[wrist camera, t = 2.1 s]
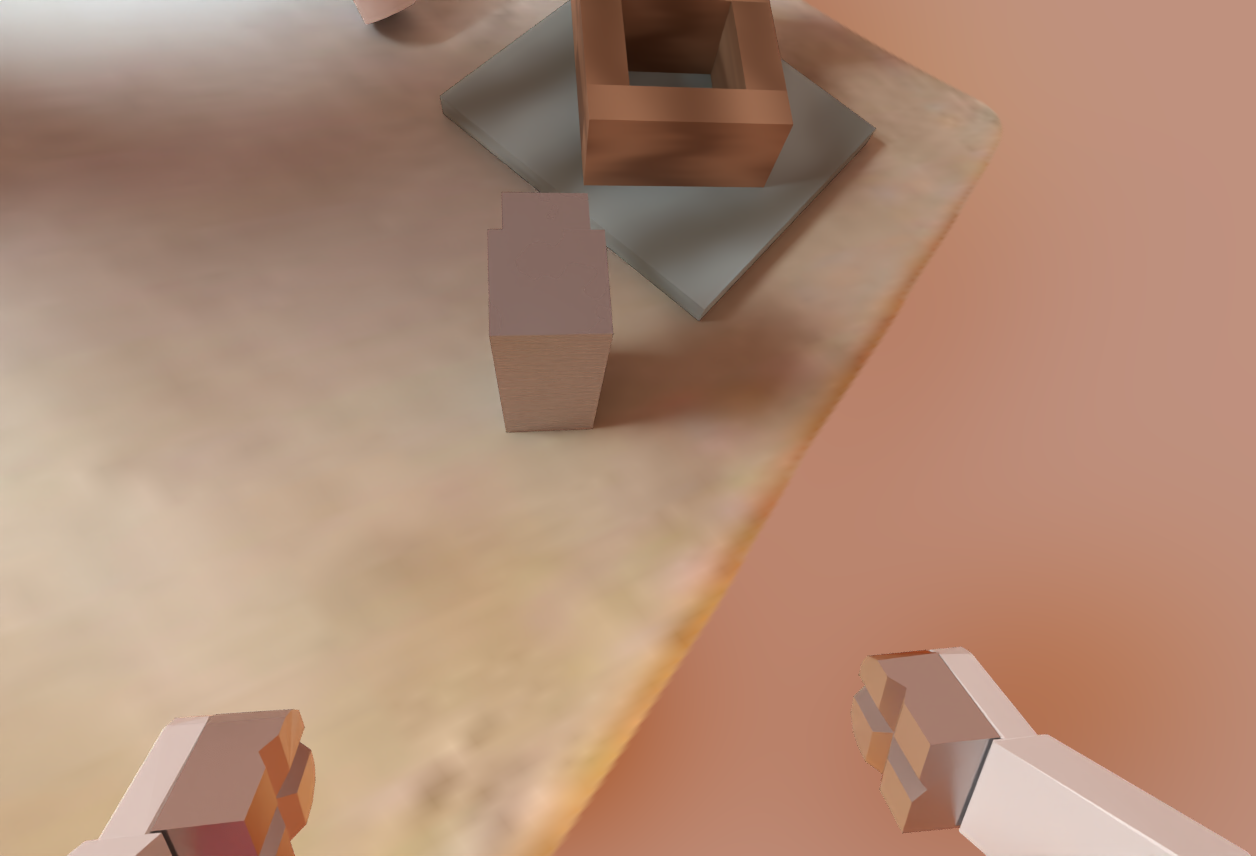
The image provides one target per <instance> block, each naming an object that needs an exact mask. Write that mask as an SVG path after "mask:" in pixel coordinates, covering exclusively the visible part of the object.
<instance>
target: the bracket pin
mask: <svg viewBox="0 0 1256 856" xmlns="http://www.w3.org/2000/svg"><path fill="white" fill-rule="evenodd" d="M502 225H503V229H488V281H489V336H490V342H491V348H492V354H493V359H494V365H495V371H496V376H497V382H498V388H499V394H500V399H501V405H502V411H503V416H504V422H505V428H506V432H524V431H550V430H576V429H593V424H594V419H595V415H596V410H597V406H598V401H599V396H600V392H601V387H602V383H603V378H604V373H605V369H606V364H607V360H608V355H609V350H610V346H611V341H612V337H613V325H612V313H611V300H610V288H609V275H608V263H607V250H606V238H605V230H590V216H589V202H588V193H522V192H502Z"/></svg>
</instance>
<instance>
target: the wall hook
mask: <svg viewBox="0 0 1256 856" xmlns="http://www.w3.org/2000/svg"><path fill="white" fill-rule="evenodd" d="M353 1H354V3H355V5H356V7H357V9H358V11H359V13H360V15H361V17H362V19H363V20H364V22H365V24H371V23H374V22H377V21H379V20H382V19H384V18H387V17H389V16H391V15H393V14H395V13H398V12H400V11H402V10H404V9H406V8H407V7H409V6H411V5H412V4H414V3H415V2H416V1H415V0H353Z"/></svg>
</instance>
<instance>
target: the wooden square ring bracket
mask: <svg viewBox="0 0 1256 856" xmlns="http://www.w3.org/2000/svg"><path fill="white" fill-rule="evenodd" d="M440 99H441V104H442V110H443V114H445V115H446V116H447V117H448V118H450V119H451V120H452V121H453V122H455V123H456V124H457V125H458V126H459V127H461V128H462V129H463V130H464V131H466V132H467V133H468V134H469V135H471V136H472V137H473V138H474V139H475V140H477V141H478V142H479V143H480V144H482V145H483V146H484V147H485V148H487V149H488V150H489V151H490V152H491V153H493V154H494V155H495V156H496V157H498V158H499V159H500V160H501V161H503V162H504V163H505V164H506V165H508V166H509V167H510V168H511V169H512V170H514V171H515V172H516V173H517V174H519V175H520V176H521V177H522V178H524V179H525V180H526V181H527V182H528V183H530V184H531V185H532V186H533V187H535V188H536V189H537V190H538V191H540V192H541V193H588V202H589V216H590V230H605V238H606V246H607V247H609V248H610V249H611V250H612V251H613V252H615V253H616V254H617V255H618V256H620V257H621V258H622V259H623V260H625V261H626V262H627V263H628V264H629V265H631V266H632V267H633V268H634V269H636V270H637V271H638V272H639V273H641V274H642V275H643V276H644V277H645V278H647V279H648V280H649V281H650V282H652V283H653V284H654V285H655V286H657V287H658V288H659V289H660V290H661V291H663V292H664V293H665V294H666V295H668V296H669V297H670V298H671V299H673V300H674V301H675V302H676V303H677V304H679V305H680V306H681V307H682V308H684V309H685V310H686V311H687V312H689V313H690V314H691V315H692V316H694V317H695V318H696V319H697V320H698V321H699V320H700V319H701V318H702V317H703V316H704V315H705V314H706V313H707V312H708V311H709V310H710V309H711V308H712V307H713V306H714V305H715V303H716V302H717V301H718V300H719V299H720V298H721V297H722V296H723V295H724V294H725V293H726V292H727V291H728V290H729V289H730V288H731V287H732V285H733V284H734V283H735V282H736V281H737V280H738V279H739V278H740V277H741V276H742V275H743V274H744V273H745V272H746V271H747V270H748V268H749V267H750V266H751V265H752V264H753V263H754V262H755V261H756V260H757V259H758V258H759V257H760V256H761V255H762V254H763V253H764V252H765V250H766V249H767V248H768V247H769V246H770V245H771V244H772V243H773V242H774V241H775V240H776V239H777V238H778V237H779V236H780V235H781V233H782V232H783V231H784V230H785V229H786V228H787V227H788V226H789V225H790V224H791V223H792V222H793V221H794V220H795V219H796V218H797V217H798V215H799V214H800V213H801V212H802V211H803V210H804V209H805V208H806V207H807V206H808V205H809V204H810V203H811V202H812V201H813V200H814V199H815V197H816V196H817V195H818V194H819V193H820V192H821V191H822V190H823V189H824V188H825V187H826V186H827V185H828V184H829V183H830V182H831V180H832V179H833V178H834V177H835V176H836V175H837V174H838V173H839V172H840V171H841V170H842V169H843V168H844V167H845V166H846V165H847V164H848V162H849V161H850V160H851V159H852V158H853V157H854V156H855V155H856V154H857V153H858V152H859V151H860V150H861V149H862V148H863V147H864V145H865V144H866V143H867V142H868V140H869V139H870V137H871V135H872V134H873V132H874V131H875V129H876V128H875V127H873V126H872V125H871V124H869V123H868V122H866V121H865V120H864V119H862V118H861V117H860V116H858V115H857V114H856V113H854V112H853V111H852V110H850V109H849V108H847V107H846V106H845V105H843V104H842V103H841V102H839V101H838V100H837V99H835V98H834V97H832V96H831V95H830V94H828V93H827V92H826V91H824V90H823V89H822V88H820V87H819V86H818V85H816V84H815V83H813V82H812V81H811V80H809V79H808V78H807V77H805V76H804V75H803V74H801V73H800V72H799V71H797V70H796V69H794V68H793V67H792V66H790V65H789V64H788V63H786V62H785V61H784V60H782V59H781V57H780V52H779V47H778V42H777V37H776V32H775V26H774V21H773V16H772V11H771V6H770V0H569V1H568V2H566V3H565V4H564V5H562V6H561V7H560V8H558V9H557V10H556V11H554V12H553V13H551V14H550V15H549V16H547V17H546V18H545V19H543V20H542V21H541V22H539V23H538V24H537V25H535V26H534V27H532V28H531V29H530V30H528V31H527V32H526V33H524V34H523V35H522V36H520V37H519V38H518V39H516V40H515V41H514V42H512V43H511V44H509V45H508V46H507V47H505V48H504V49H503V50H501V51H500V52H499V53H497V54H496V55H495V56H493V57H492V58H490V59H489V60H488V61H486V62H485V63H484V64H482V65H481V66H480V67H478V68H477V69H476V70H474V71H473V72H471V73H470V74H469V75H467V76H466V77H465V78H463V79H462V80H461V81H459V82H458V83H457V84H455V85H454V86H453V87H451V88H450V89H448V90H447V91H446V92H444V93H443V94H442V95H440Z"/></svg>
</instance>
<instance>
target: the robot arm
mask: <svg viewBox="0 0 1256 856" xmlns="http://www.w3.org/2000/svg"><path fill="white" fill-rule="evenodd" d="M859 676H860V678H861V679H862V681H863V683H864V685H865V686H864V687H863V688H862V689H861V690H860V691H859V692H858V693H856V694H855V696H854V698H853V703H852V709H851V719H852V728H853V733H854V736H855V739H856V742H857V746H858V748H859V750H860V752H861V754H862V756H863V758H864V760H865V762H867V763H868V764H870V765H871V766H872V767H873V768H875V769H876V770H877V771H879V772H880V773H881V774H882V778H881V784H880V791H881V793H882V795H883V797H884V799H885V801H886V803H887V805H888V807H889V809H890V811H891V813H892V815H893V816H894V818H895V820H896V822H897V824H898V826H899V828H900V830H901V832H902V833H910V832H921V831H931V830H942V829H952V828H960V829H959V832H960V833H961V834H962V835H964V836H965V837H966V838H967V839H968V840H969V841H970V842H972V843H973V844H974V845H975V846H976V847H977V848H978V849H980V850H981V851H982V852H983V853H984V854H985V855H986V856H1251V855H1250V854H1249V853H1248V852H1247V851H1246V850H1244V849H1242V848H1240V847H1239V846H1237V845H1235V844H1234V843H1232V842H1230V841H1229V840H1227V839H1225V838H1224V837H1222V836H1220V835H1218V834H1217V833H1215V832H1213V831H1211V830H1210V829H1208V828H1206V827H1205V826H1203V825H1201V824H1200V823H1198V822H1196V821H1195V820H1193V819H1191V818H1189V817H1188V816H1186V815H1184V814H1182V813H1181V812H1179V811H1177V810H1176V809H1174V808H1172V807H1171V806H1169V805H1167V804H1166V803H1164V802H1162V801H1160V800H1158V799H1157V798H1155V797H1154V796H1152V795H1150V794H1148V793H1147V792H1145V791H1143V790H1142V789H1140V788H1138V787H1137V786H1135V785H1133V784H1131V783H1130V782H1128V781H1126V780H1125V779H1123V778H1121V777H1119V776H1118V775H1116V774H1114V773H1113V772H1111V771H1109V770H1107V769H1106V768H1104V767H1102V766H1101V765H1099V764H1097V763H1096V762H1094V761H1092V760H1090V759H1089V758H1087V757H1085V756H1084V755H1082V754H1080V753H1079V752H1077V751H1075V750H1073V749H1072V748H1070V747H1068V746H1067V745H1065V744H1063V743H1061V742H1060V741H1058V740H1056V739H1055V738H1053V737H1051V736H1050V735H1048V734H1043V735H1037V734H1036V732H1035V731H1034V730H1033V729H1032V727H1031V726H1030V725H1029V724H1028V723H1027V721H1026V720H1025V719H1024V718H1023V716H1022V715H1021V714H1020V713H1019V711H1018V710H1017V709H1016V708H1015V707H1014V705H1013V704H1012V703H1011V702H1010V700H1009V699H1008V698H1007V697H1006V695H1005V694H1004V693H1003V692H1002V690H1001V689H1000V688H999V687H998V686H997V684H996V683H995V682H994V680H993V679H992V678H991V677H990V676H989V674H988V673H987V672H986V671H985V669H984V668H983V667H982V666H981V664H980V663H979V662H978V661H977V659H976V658H975V657H974V656H973V655H972V653H971V652H970V651H968V650H966V649H965V648H963V647H953V648H943V649H933V650H929V651H928V650H919V651H911V652H901V653H891V654H881V655H872V656H867V657H866V658H865V659H864V661H863V662H862V664H861V668H860V672H859ZM304 728H305V727H304V724H303V721H302V718H301V715H300V712H299V710H294V709H288V710H273V711H257V712H242V713H227V714H216V715H205V716H191V717H177V718H175V719H173V720H172V721H171V722H170V723H169V724H168V725H166V726H165V727H164V728H163V730H162V731H161V733H160V735H159V736H158V738H157V740H156V742H155V743H154V745H153V747H152V748H151V750H150V752H149V754H148V755H147V757H146V759H145V760H144V762H143V764H142V765H141V767H140V769H139V771H138V772H137V774H136V776H135V777H134V779H133V781H132V782H131V784H130V786H129V788H128V789H127V791H126V793H125V794H124V796H123V798H122V800H121V801H120V803H119V805H118V806H117V808H116V810H115V811H114V813H113V815H112V817H111V818H110V820H109V822H108V823H107V825H106V827H105V829H104V830H103V832H102V834H101V835H100V837H99V839H95V840H88V841H84V842H83V843H82V844H80V845H79V846H78V847H77V848H75V849H74V850H73V851H72V852H70V853H69V854H68V855H67V856H295V854H294V851H293V848H292V845H291V842H290V841H291V840H292V839H293V838H294V837H295V836H296V834H297V833H298V832H299V831H300V830H301V829H302V828H303V827H304V826H305V825H306V824H307V820H308V817H309V813H310V810H311V806H312V803H313V795H314V787H315V764H314V759H313V755H312V751H311V749H309V748H308V747H306V746H305V745H303V744H302V743H300V739H301V736H302V734H303V731H304Z"/></svg>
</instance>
